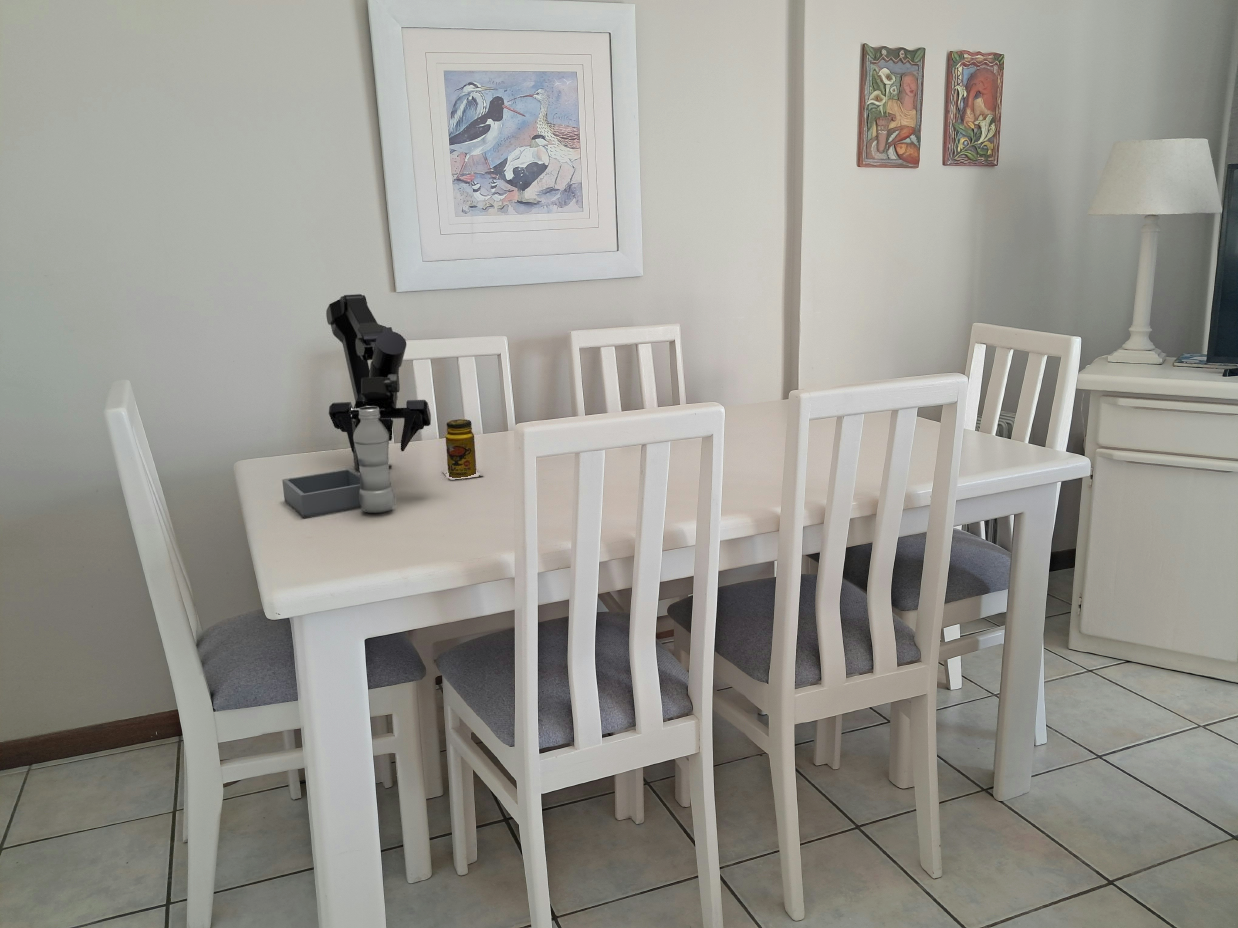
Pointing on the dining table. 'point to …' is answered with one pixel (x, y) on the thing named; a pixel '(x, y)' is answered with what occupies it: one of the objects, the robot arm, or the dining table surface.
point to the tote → (323, 493)
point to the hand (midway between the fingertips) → (377, 451)
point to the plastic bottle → (373, 462)
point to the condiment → (460, 449)
